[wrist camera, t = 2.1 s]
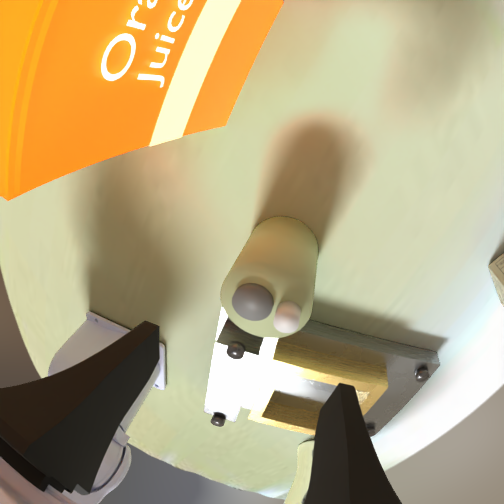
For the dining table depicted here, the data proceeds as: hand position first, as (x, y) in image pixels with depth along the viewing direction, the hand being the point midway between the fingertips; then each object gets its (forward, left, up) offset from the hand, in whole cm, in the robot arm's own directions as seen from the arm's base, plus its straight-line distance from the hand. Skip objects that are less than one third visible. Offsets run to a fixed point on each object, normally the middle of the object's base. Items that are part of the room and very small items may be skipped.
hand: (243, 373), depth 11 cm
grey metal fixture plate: (+6, -11, -10) cm, 16 cm away
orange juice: (-8, +12, -11) cm, 18 cm away
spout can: (0, 0, -10) cm, 11 cm away
